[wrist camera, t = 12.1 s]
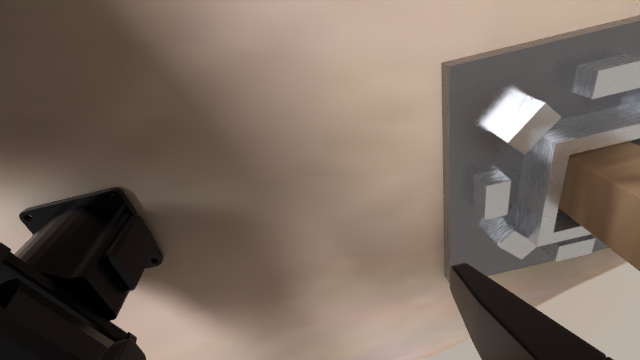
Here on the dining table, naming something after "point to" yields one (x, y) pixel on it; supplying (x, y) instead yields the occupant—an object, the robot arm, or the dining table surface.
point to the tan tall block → (606, 196)
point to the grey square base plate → (531, 141)
